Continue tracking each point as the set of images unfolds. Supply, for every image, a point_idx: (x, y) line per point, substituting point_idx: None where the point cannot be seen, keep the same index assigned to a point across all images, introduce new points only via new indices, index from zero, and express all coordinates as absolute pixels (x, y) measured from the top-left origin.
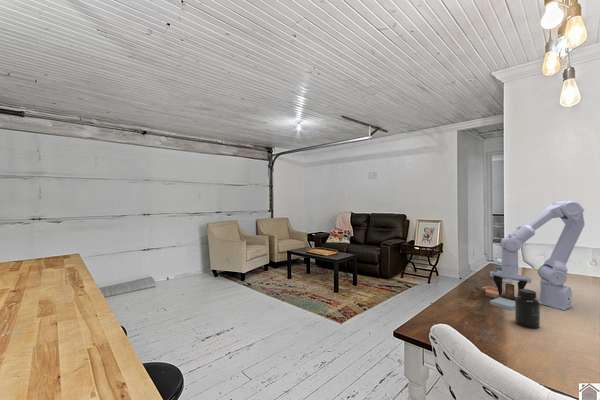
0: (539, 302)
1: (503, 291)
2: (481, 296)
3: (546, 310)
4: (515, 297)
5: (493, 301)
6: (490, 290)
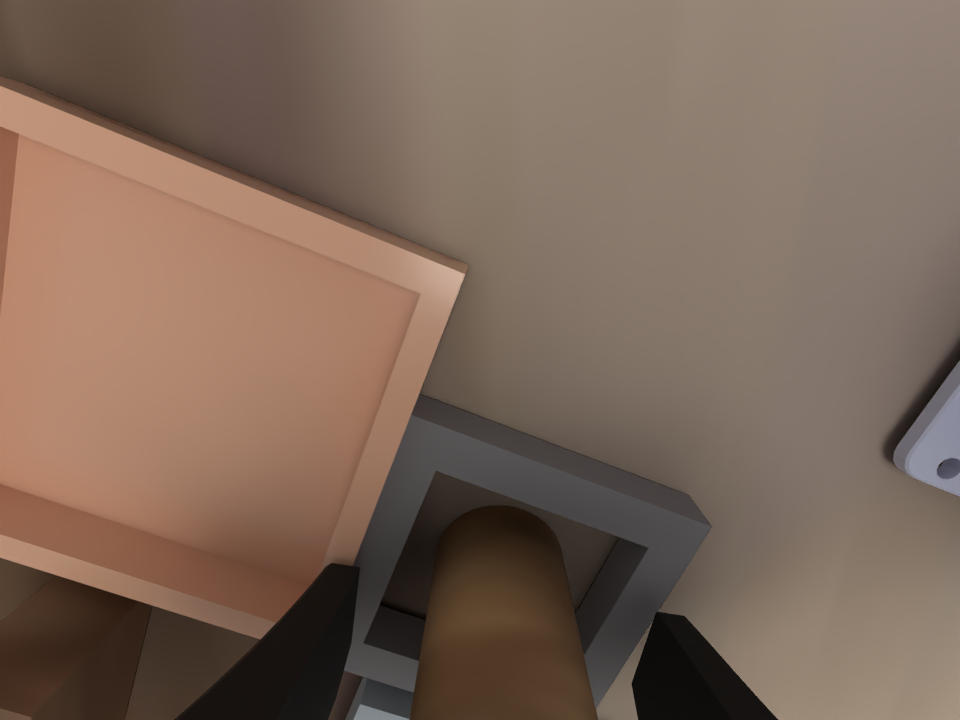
0: (952, 481)
1: (356, 265)
2: (122, 684)
3: (928, 699)
4: (589, 522)
5: None
6: (102, 223)
